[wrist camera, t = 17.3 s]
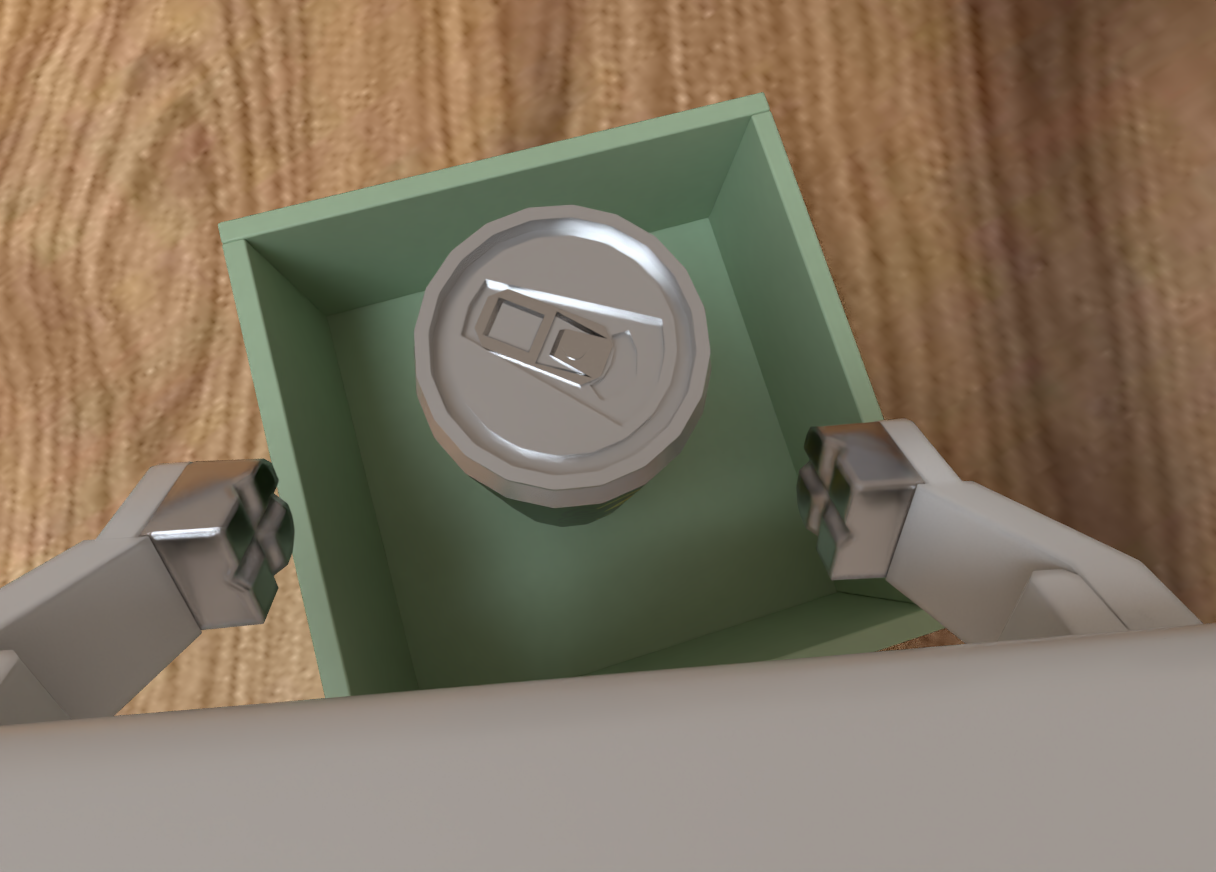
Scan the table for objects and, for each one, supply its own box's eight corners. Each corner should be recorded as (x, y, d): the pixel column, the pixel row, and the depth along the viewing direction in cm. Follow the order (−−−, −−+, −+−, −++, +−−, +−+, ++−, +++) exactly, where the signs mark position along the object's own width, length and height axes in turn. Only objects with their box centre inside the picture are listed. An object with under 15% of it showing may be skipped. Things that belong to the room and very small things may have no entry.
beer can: (462, 493, 23) (343, 431, 11) (523, 349, 23) (476, 146, 12) (611, 551, 22) (658, 555, 11) (667, 405, 23) (766, 259, 12)
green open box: (851, 602, 23) (960, 624, 17) (418, 744, 22) (353, 827, 15) (714, 207, 25) (764, 90, 19) (312, 311, 24) (216, 222, 17)
